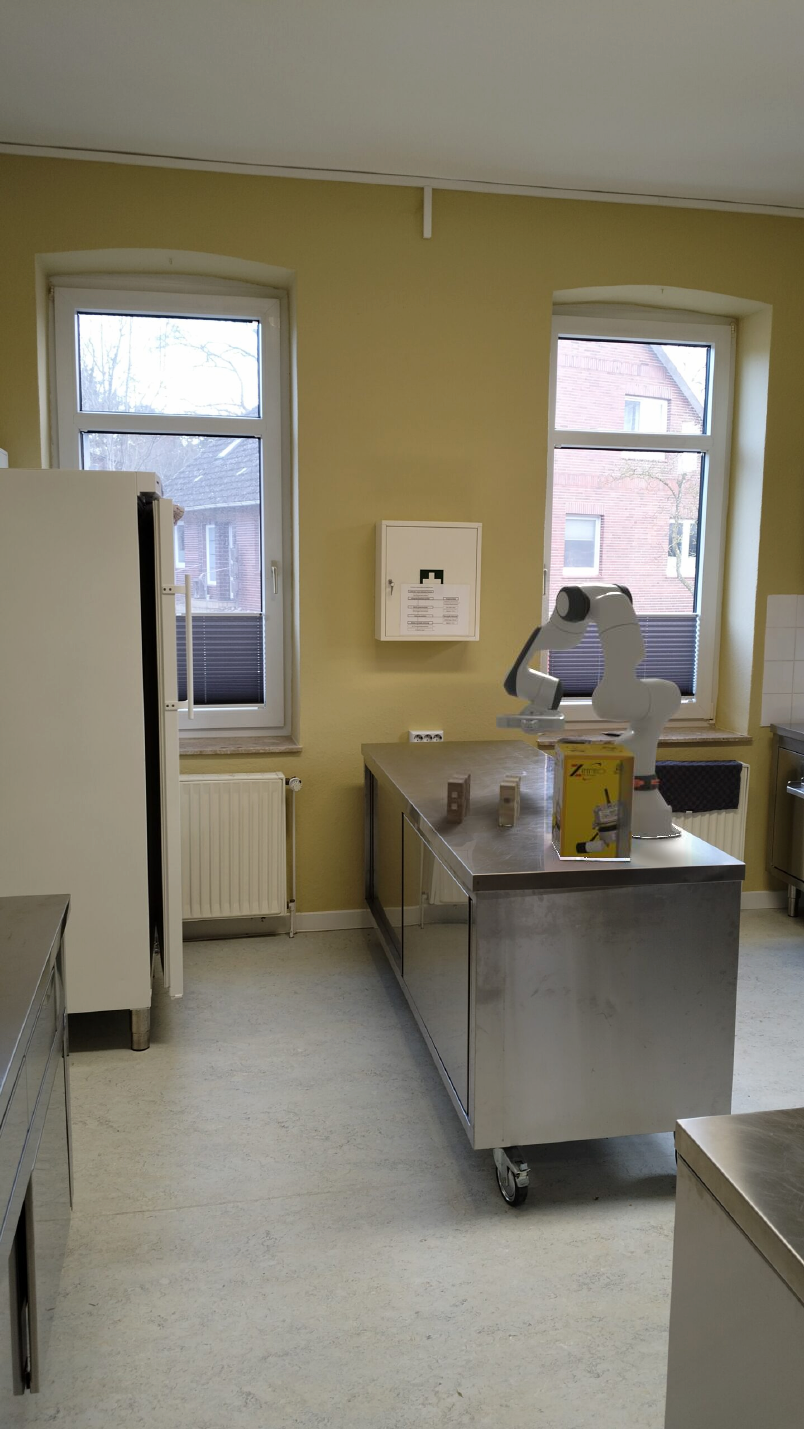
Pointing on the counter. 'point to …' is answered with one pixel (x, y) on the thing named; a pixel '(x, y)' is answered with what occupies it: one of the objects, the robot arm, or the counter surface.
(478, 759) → the counter surface
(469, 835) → the counter surface
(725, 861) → the counter surface
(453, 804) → the walnut tile two
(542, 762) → the counter surface
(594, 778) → the packaging box
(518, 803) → the maple tile one
